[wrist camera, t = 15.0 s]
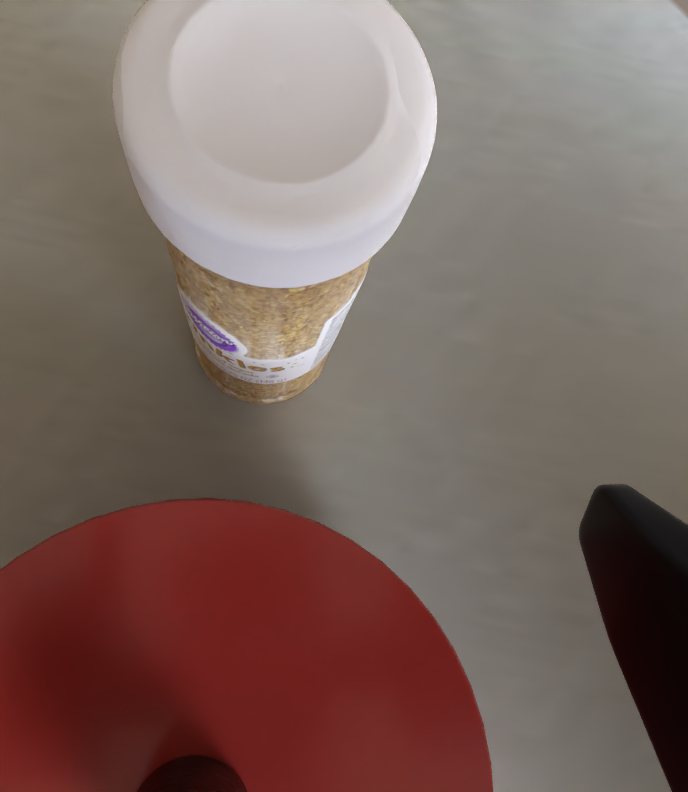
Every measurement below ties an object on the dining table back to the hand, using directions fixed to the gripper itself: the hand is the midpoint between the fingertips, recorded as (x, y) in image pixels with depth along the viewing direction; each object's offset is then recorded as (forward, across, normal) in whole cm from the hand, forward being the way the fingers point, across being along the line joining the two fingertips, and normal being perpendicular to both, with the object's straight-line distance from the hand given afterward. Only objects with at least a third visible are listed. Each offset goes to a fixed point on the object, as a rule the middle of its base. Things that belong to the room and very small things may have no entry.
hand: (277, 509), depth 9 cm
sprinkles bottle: (+13, 0, +5) cm, 14 cm away
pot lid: (0, +2, +8) cm, 9 cm away
